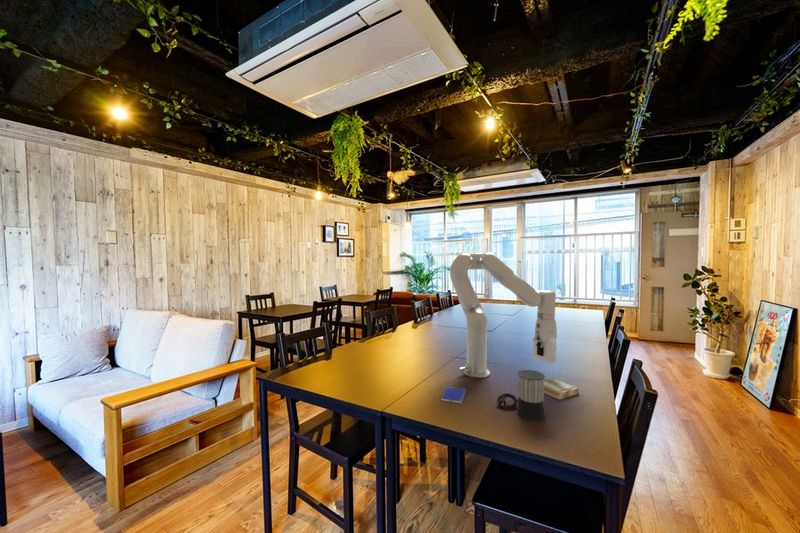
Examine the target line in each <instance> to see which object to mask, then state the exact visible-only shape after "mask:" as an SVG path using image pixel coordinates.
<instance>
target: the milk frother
mask: <svg viewBox="0 0 800 533" xmlns="http://www.w3.org/2000/svg"><path fill="white" fill-rule="evenodd" d="M517 375H518V379H517V380H518V398H517V397H516V396H515V395H514V394H511V393H509V392H507V393H502V394H500V395H499V396H498V397H497V399H496V403H497V406H499V407H500V408H502V409H508V410H512V409H514V408H515V407H517V412H516V413H517V415H519V416H520V417H521V418H523V419H525V420H526V419H527V420H528V421H541V420H543V419H545V418H546V415H545V408H544V407H545V406H544V405H545V393H544V381H545V378H546V376H545V374H544V373H542V372H540V371H538V370H531V369H523V370H519V371H518V372H517ZM506 398H509V399H511V400H512V401H513V403H512V404H509V405H506V404H507V401H506ZM517 405H518V406H517Z"/></svg>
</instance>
